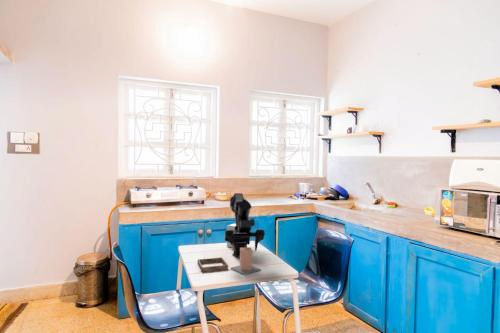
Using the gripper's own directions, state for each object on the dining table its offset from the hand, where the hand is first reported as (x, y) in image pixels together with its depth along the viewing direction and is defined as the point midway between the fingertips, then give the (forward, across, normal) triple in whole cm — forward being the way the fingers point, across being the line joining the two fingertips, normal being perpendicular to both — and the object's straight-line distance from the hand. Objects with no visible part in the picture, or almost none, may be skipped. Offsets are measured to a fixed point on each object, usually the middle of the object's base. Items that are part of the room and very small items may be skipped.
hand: (246, 251), depth 145 cm
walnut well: (+1, -15, +11) cm, 19 cm away
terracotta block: (+5, 0, +6) cm, 8 cm away
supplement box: (-22, -1, +35) cm, 41 cm away
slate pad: (+6, 0, +7) cm, 9 cm away
